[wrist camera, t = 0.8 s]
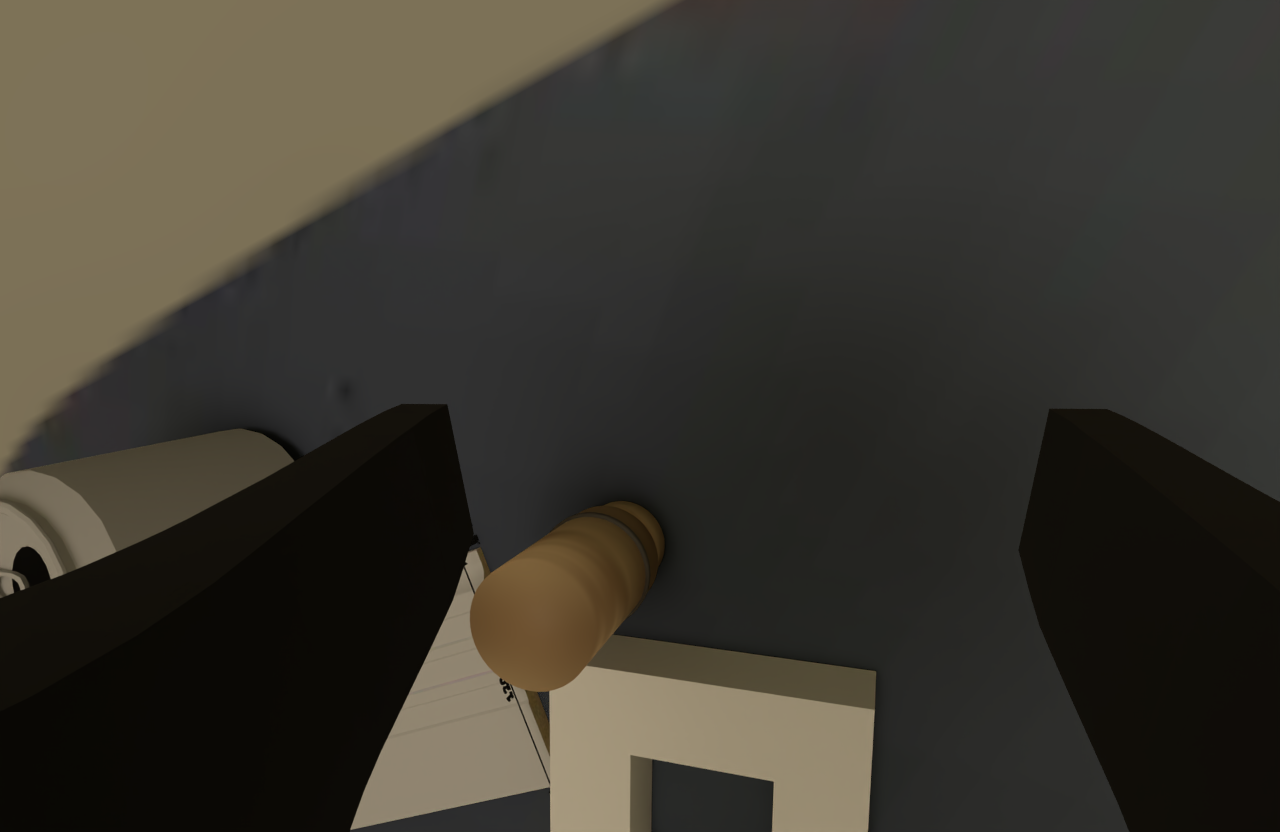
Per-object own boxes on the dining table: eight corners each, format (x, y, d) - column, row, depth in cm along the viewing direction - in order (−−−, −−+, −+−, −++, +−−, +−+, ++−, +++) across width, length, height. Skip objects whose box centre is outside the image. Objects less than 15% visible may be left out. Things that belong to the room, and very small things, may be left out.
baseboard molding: (25, 673, 45) (106, 868, 45) (-32, 698, 42) (55, 905, 43) (476, 511, 35) (576, 764, 35) (441, 530, 32) (549, 804, 33)
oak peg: (673, 597, 32) (595, 705, 24) (576, 585, 33) (468, 683, 25) (675, 495, 32) (595, 567, 23) (575, 487, 33) (465, 553, 24)
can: (333, 588, 37) (87, 715, 26) (204, 573, 39) (-74, 684, 28) (322, 428, 36) (61, 488, 25) (191, 422, 38) (-104, 474, 27)
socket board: (860, 955, 32) (857, 1020, 29) (578, 888, 35) (551, 939, 33) (876, 671, 30) (874, 709, 27) (578, 629, 34) (549, 659, 31)
